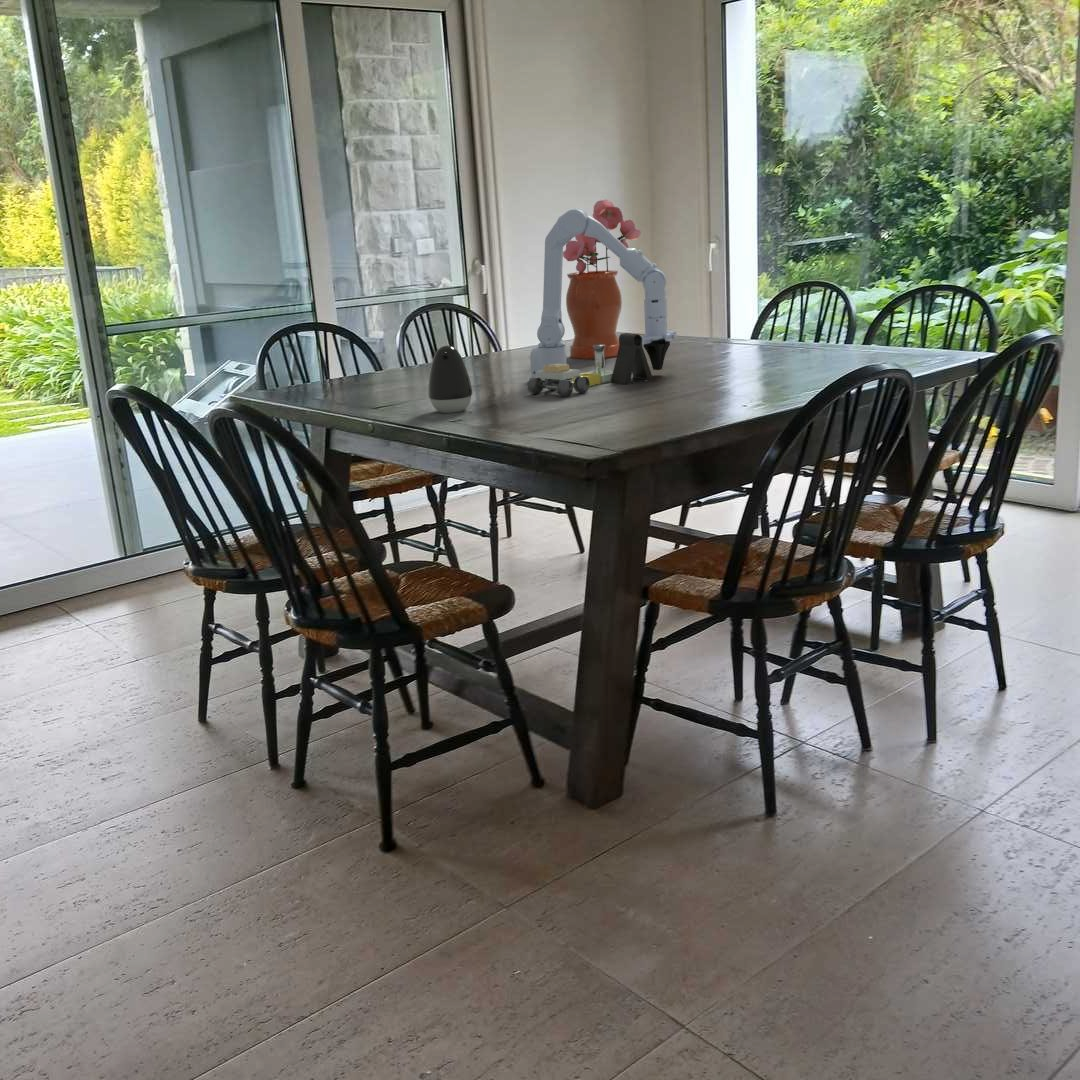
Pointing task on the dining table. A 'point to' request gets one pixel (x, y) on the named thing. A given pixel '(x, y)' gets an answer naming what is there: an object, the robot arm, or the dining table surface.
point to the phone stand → (630, 360)
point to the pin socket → (591, 378)
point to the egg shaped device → (449, 381)
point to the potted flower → (595, 288)
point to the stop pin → (599, 359)
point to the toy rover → (558, 380)
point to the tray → (604, 376)
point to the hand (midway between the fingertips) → (657, 369)
